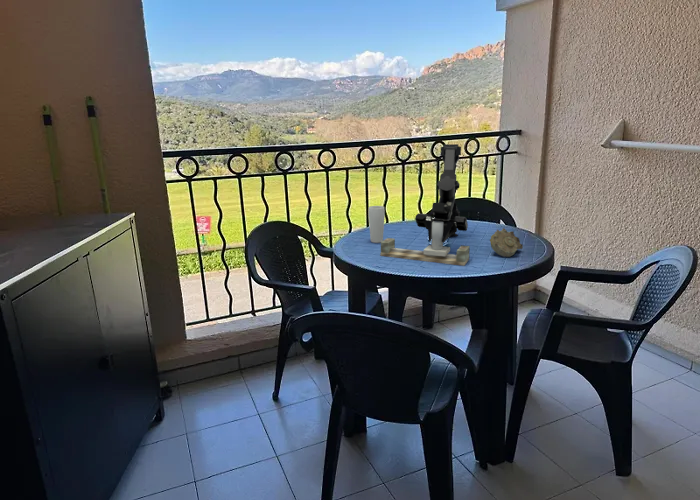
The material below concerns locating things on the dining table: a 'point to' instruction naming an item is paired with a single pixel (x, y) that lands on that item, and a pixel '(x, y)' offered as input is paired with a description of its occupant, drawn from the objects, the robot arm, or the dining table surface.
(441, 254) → the carriage
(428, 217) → the robot arm
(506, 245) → the seashell
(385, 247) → the wooden slide rail
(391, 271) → the dining table surface
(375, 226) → the drinking glass
